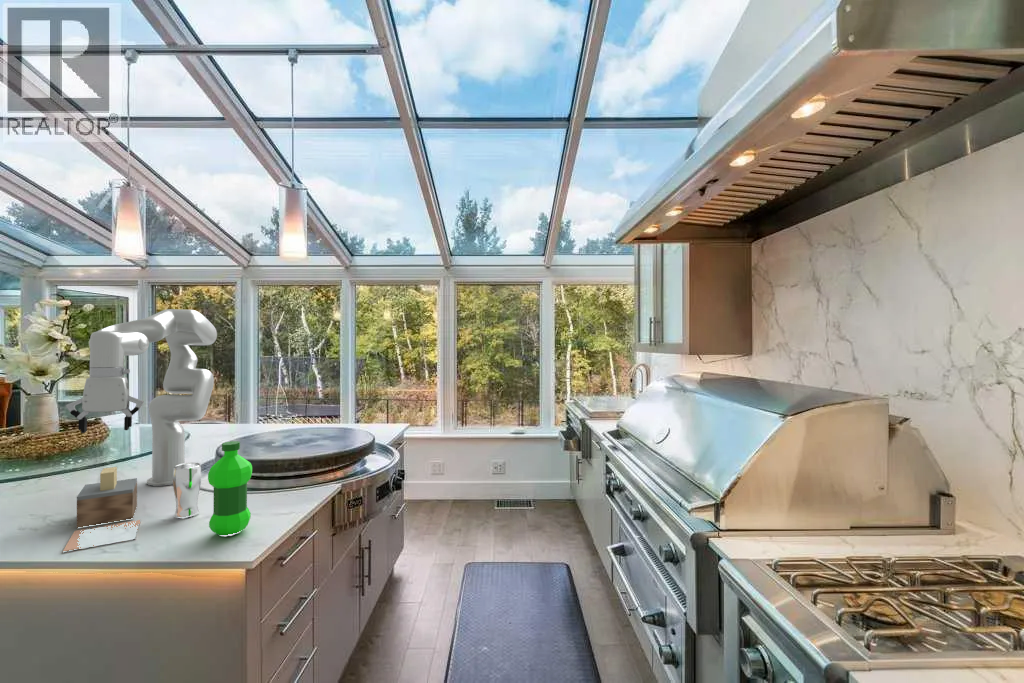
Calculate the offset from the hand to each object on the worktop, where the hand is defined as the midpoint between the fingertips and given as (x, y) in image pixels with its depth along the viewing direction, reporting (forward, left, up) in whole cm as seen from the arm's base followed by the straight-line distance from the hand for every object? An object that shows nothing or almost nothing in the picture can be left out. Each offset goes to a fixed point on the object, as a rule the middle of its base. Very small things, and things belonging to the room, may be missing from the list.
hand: (105, 431), depth 136 cm
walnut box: (-1, +1, -25) cm, 25 cm away
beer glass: (-20, +11, -26) cm, 34 cm away
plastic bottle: (-30, +32, -26) cm, 51 cm away
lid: (-1, +1, -19) cm, 19 cm away
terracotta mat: (-2, +17, -25) cm, 31 cm away
